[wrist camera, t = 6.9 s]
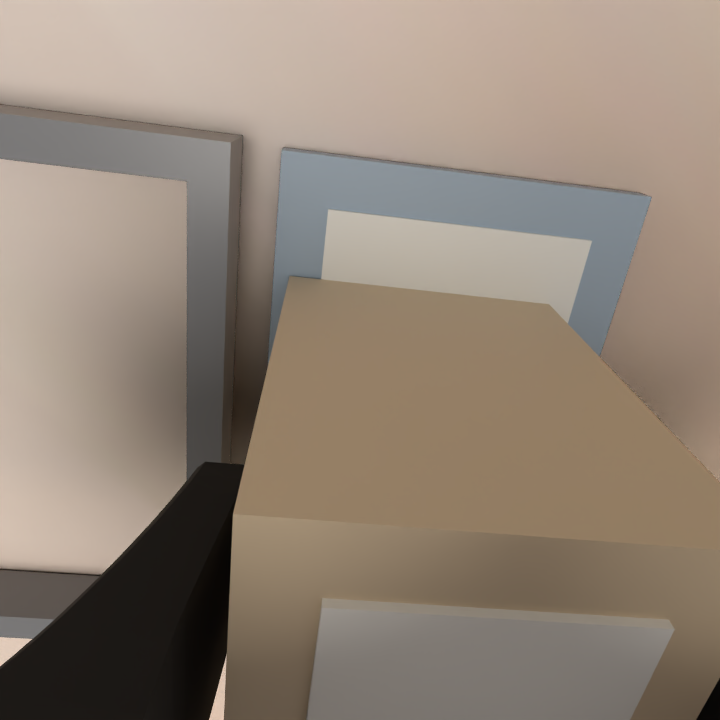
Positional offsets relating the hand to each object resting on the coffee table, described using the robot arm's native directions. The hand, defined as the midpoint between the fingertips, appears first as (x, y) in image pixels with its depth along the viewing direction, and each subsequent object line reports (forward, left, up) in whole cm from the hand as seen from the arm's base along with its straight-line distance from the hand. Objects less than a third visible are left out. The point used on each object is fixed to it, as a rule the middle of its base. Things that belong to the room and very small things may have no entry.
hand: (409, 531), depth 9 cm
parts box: (0, 0, -2) cm, 2 cm away
